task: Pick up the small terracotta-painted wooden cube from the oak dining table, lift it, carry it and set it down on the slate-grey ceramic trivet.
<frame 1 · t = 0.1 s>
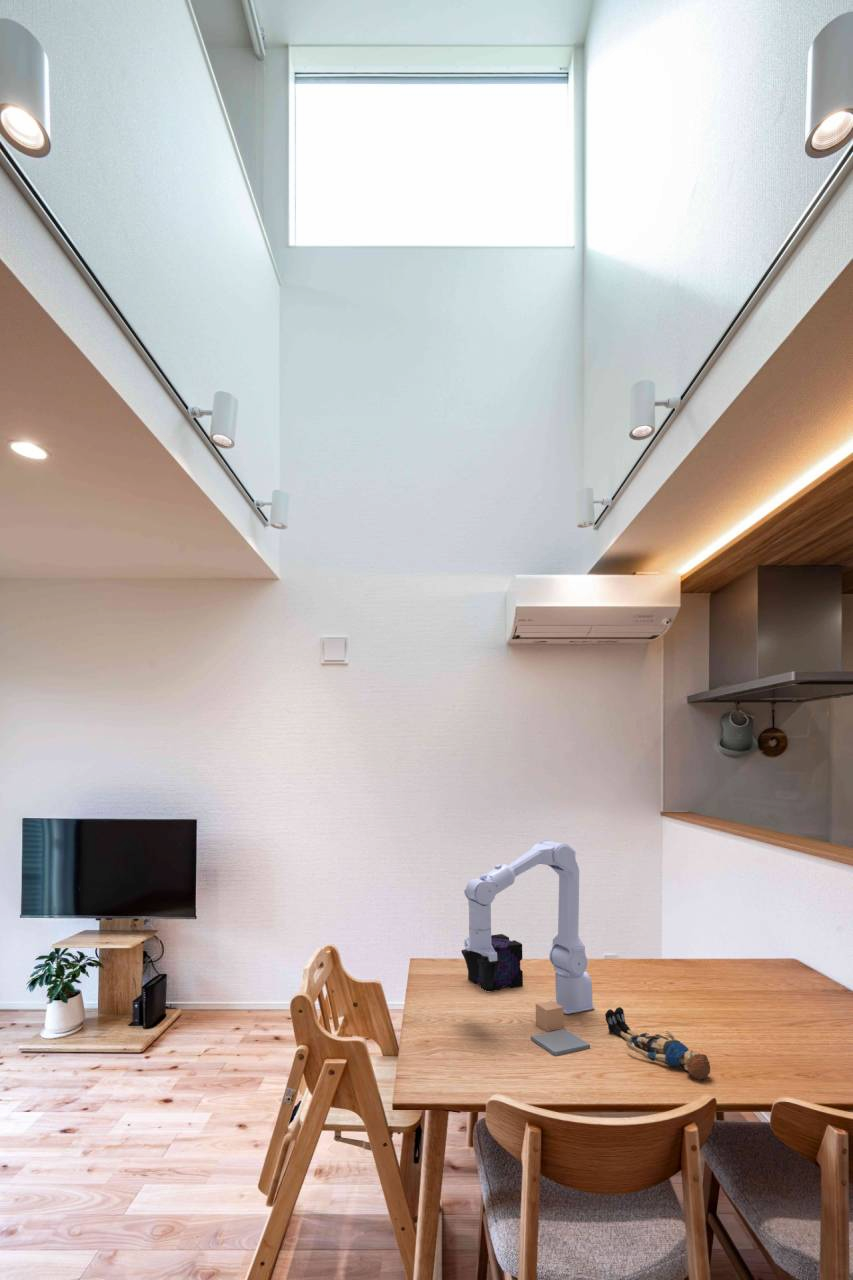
hand: (480, 983, 182), 10 cm above the table, tool pointing down, fingers open, 7 cm apart
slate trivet: (560, 1043, 170), on the table
energy cube: (495, 983, 212), on the table
figurine: (656, 1055, 164), on the table
terracotta cube: (549, 1026, 180), on the table
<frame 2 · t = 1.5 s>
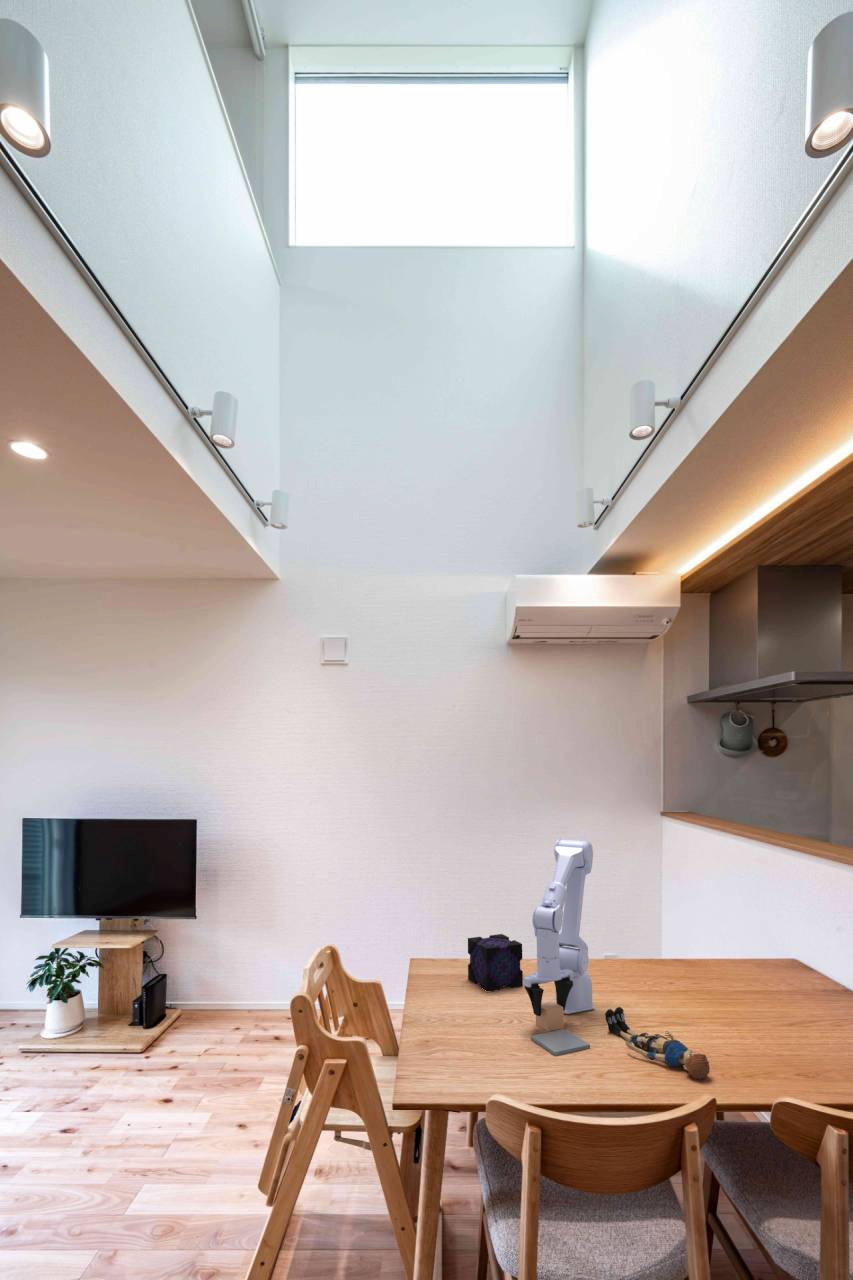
hand: (549, 1012, 181), 3 cm above the table, tool pointing down, fingers open, 7 cm apart
nothing on the table moved.
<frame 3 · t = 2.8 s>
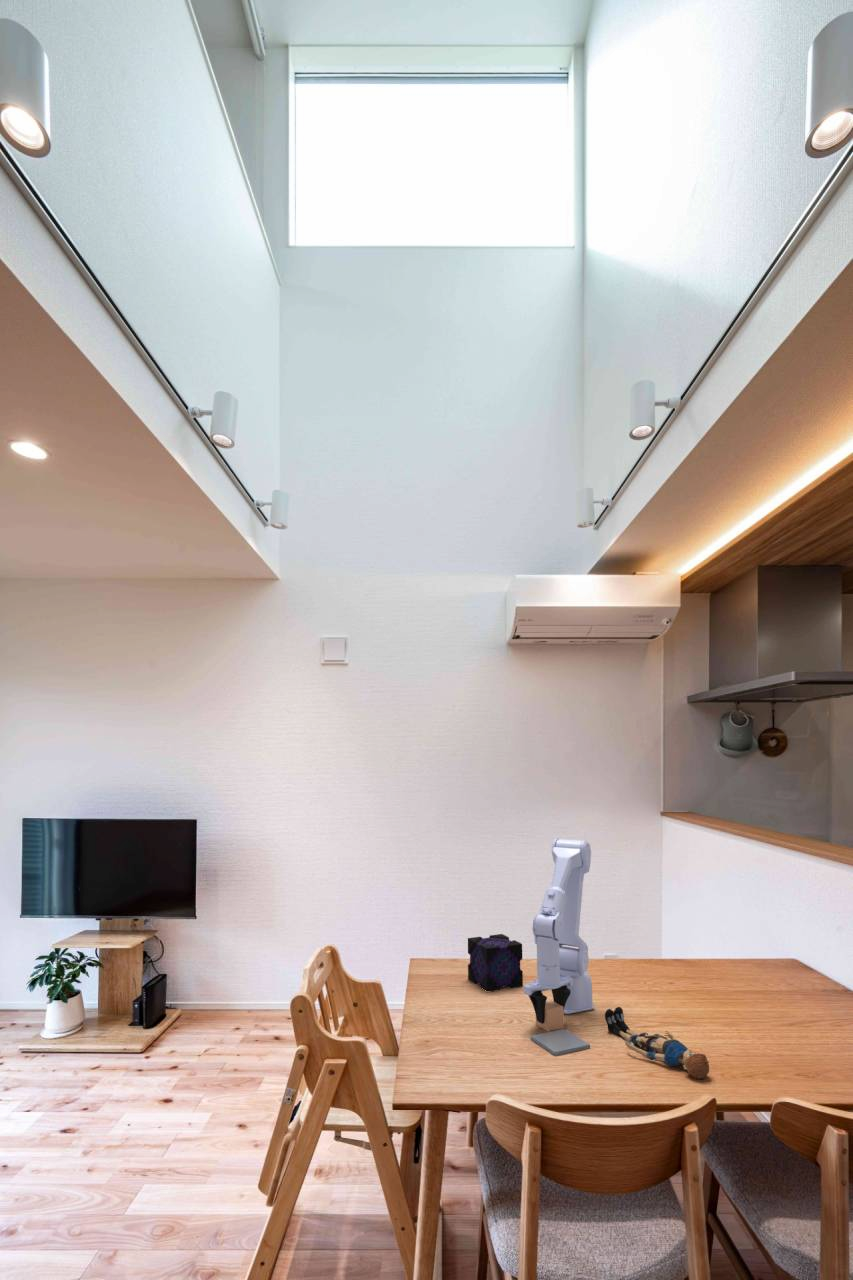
hand: (549, 1019, 181), 1 cm above the table, tool pointing down, fingers closed on terracotta cube, 5 cm apart
terracotta cube: (549, 1025, 180), on the table, touching gripper
everything else where it was.
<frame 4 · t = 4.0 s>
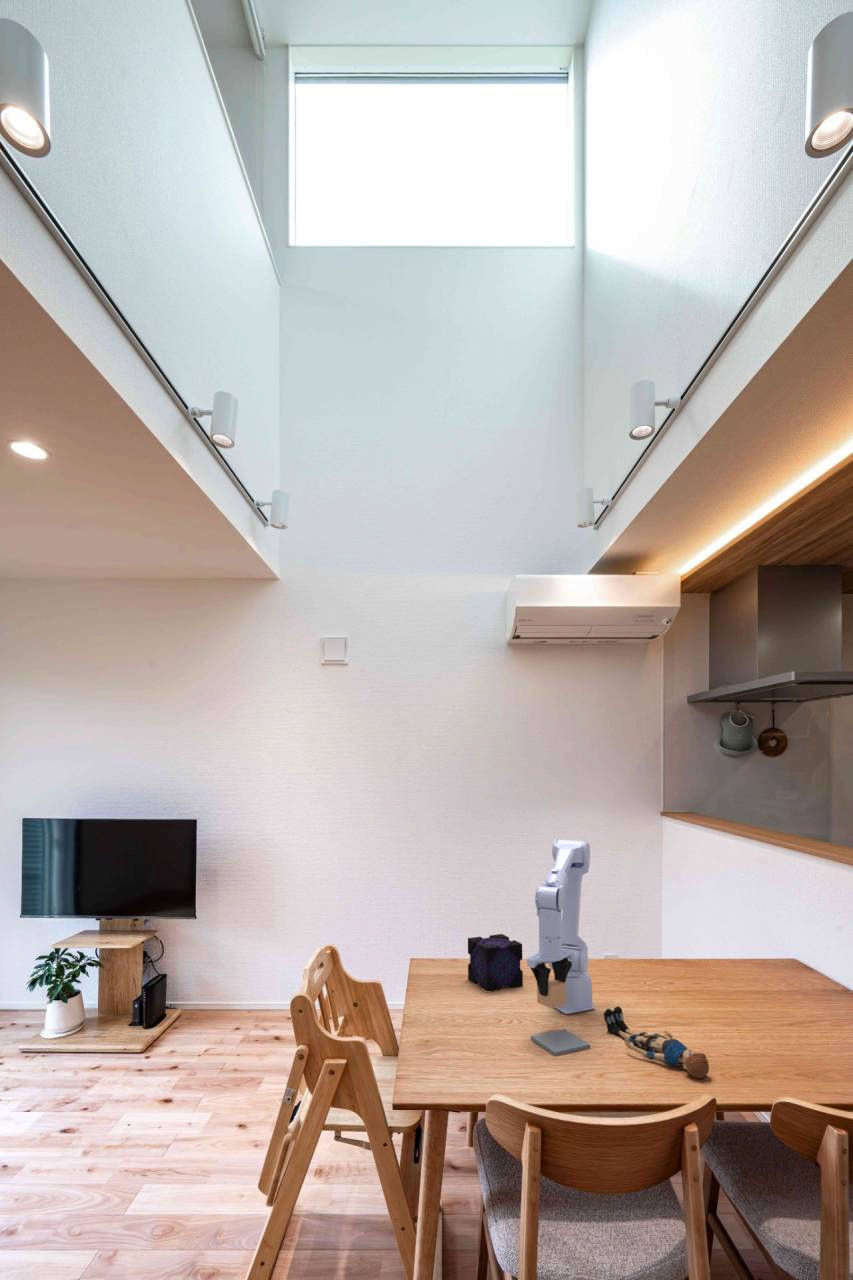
hand: (551, 992, 178), 9 cm above the table, tool pointing down, fingers closed on terracotta cube, 5 cm apart
terracotta cube: (551, 1003, 178), point 7 cm above the table, touching gripper
everything else where it was.
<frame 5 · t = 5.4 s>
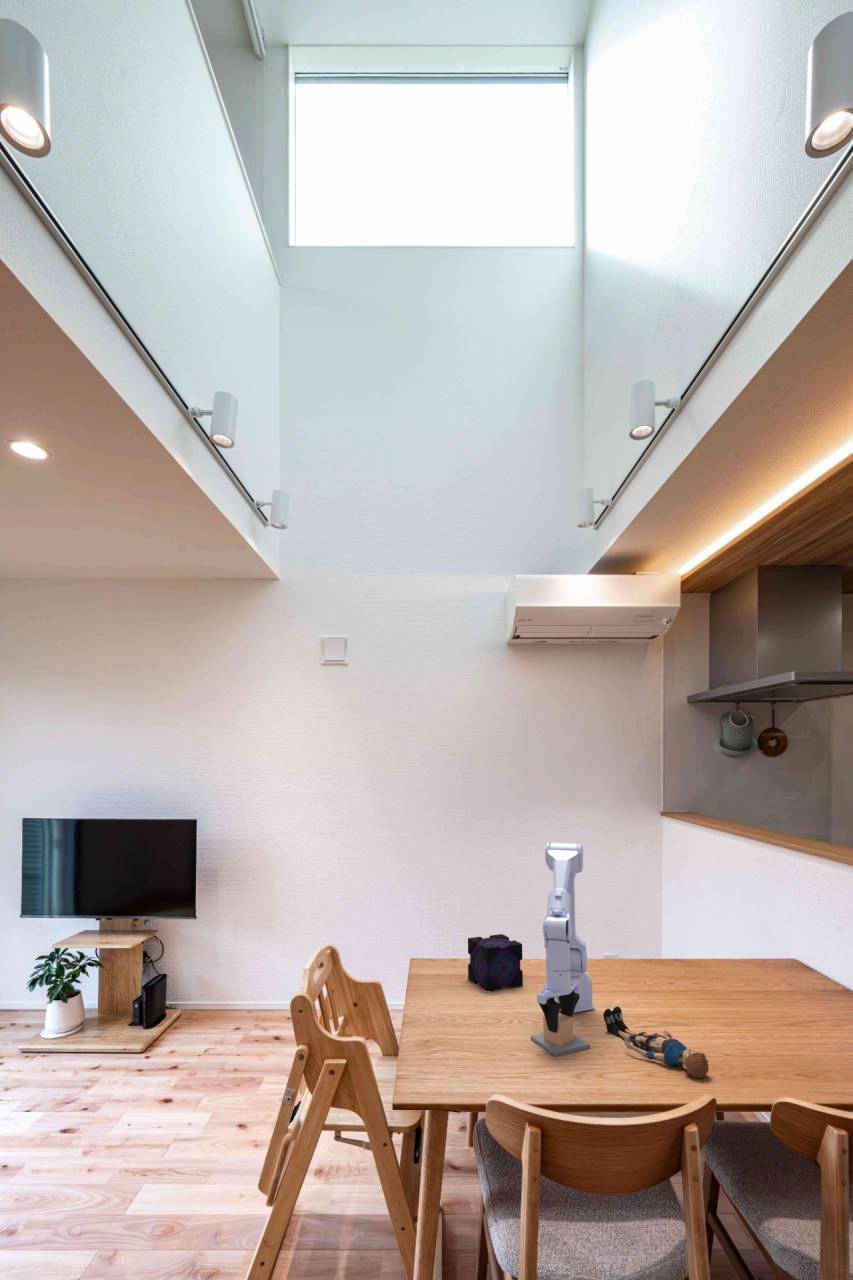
hand: (559, 1028, 170), 4 cm above the table, tool pointing down, fingers closed on terracotta cube, 5 cm apart
terracotta cube: (558, 1039, 170), point 1 cm above the table, touching gripper, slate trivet
everything else where it was.
when the fingers open (3 cm above the table, at t = 6.3 s): terracotta cube stays where it is, resting on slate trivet.
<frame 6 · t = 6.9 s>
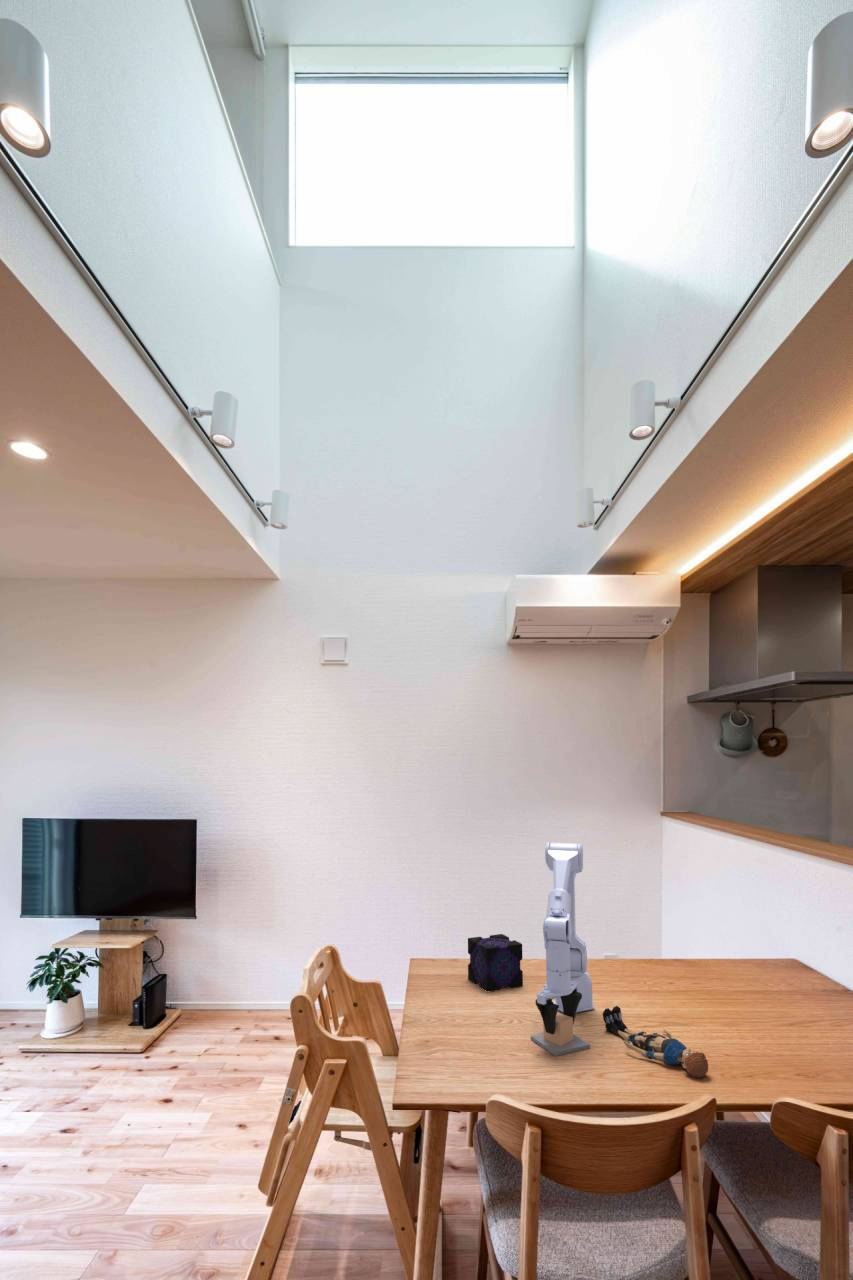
hand: (559, 1028, 170), 3 cm above the table, tool pointing down, fingers open, 7 cm apart
terracotta cube: (558, 1039, 170), point 1 cm above the table, touching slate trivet
everything else where it was.
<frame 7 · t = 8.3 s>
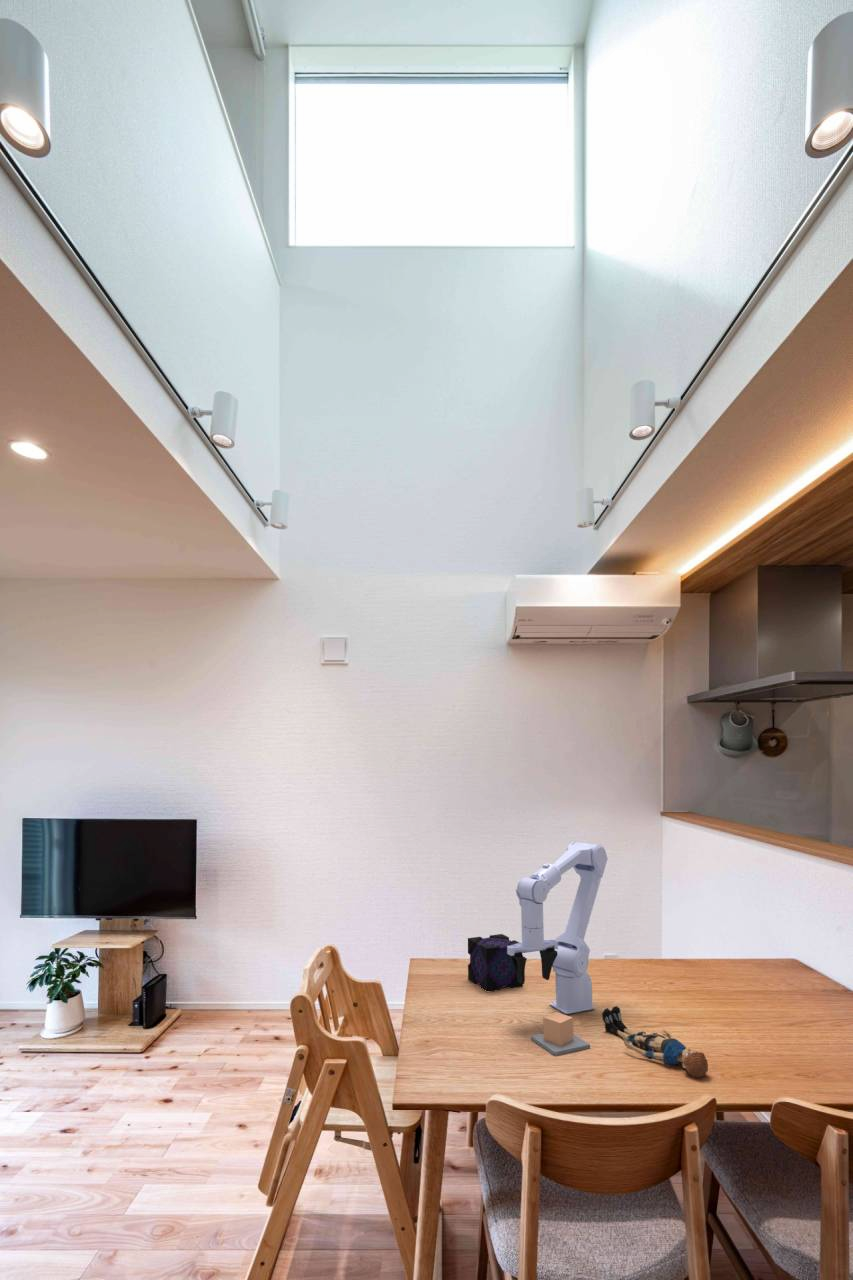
hand: (533, 980, 184), 10 cm above the table, tool pointing down, fingers open, 7 cm apart
nothing on the table moved.
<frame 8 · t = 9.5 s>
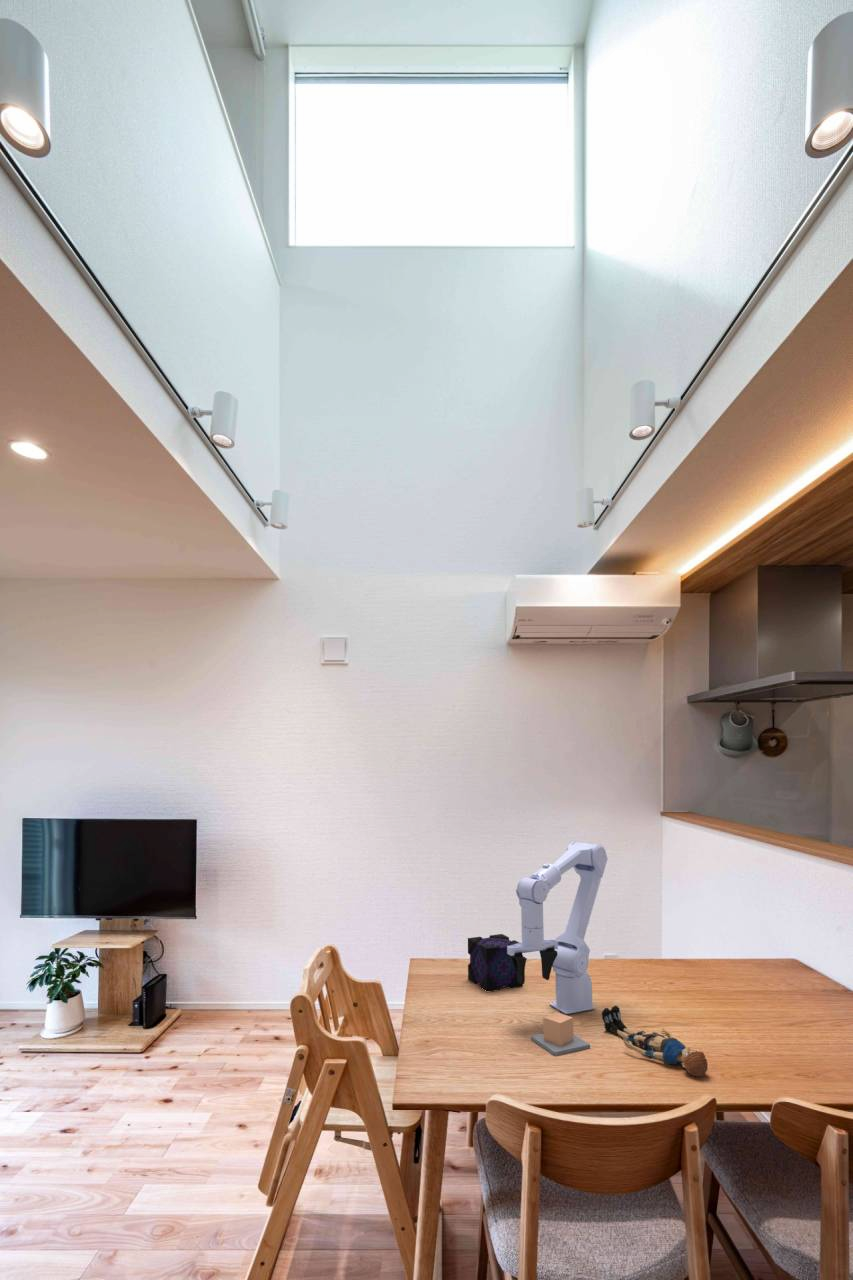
hand: (533, 980, 184), 10 cm above the table, tool pointing down, fingers open, 7 cm apart
at the end: terracotta cube inside the target area on the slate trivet (0.4 cm from its centre), point 0.8 cm above the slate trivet's base; terracotta cube tilted 0°; the gripper is holding nothing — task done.
